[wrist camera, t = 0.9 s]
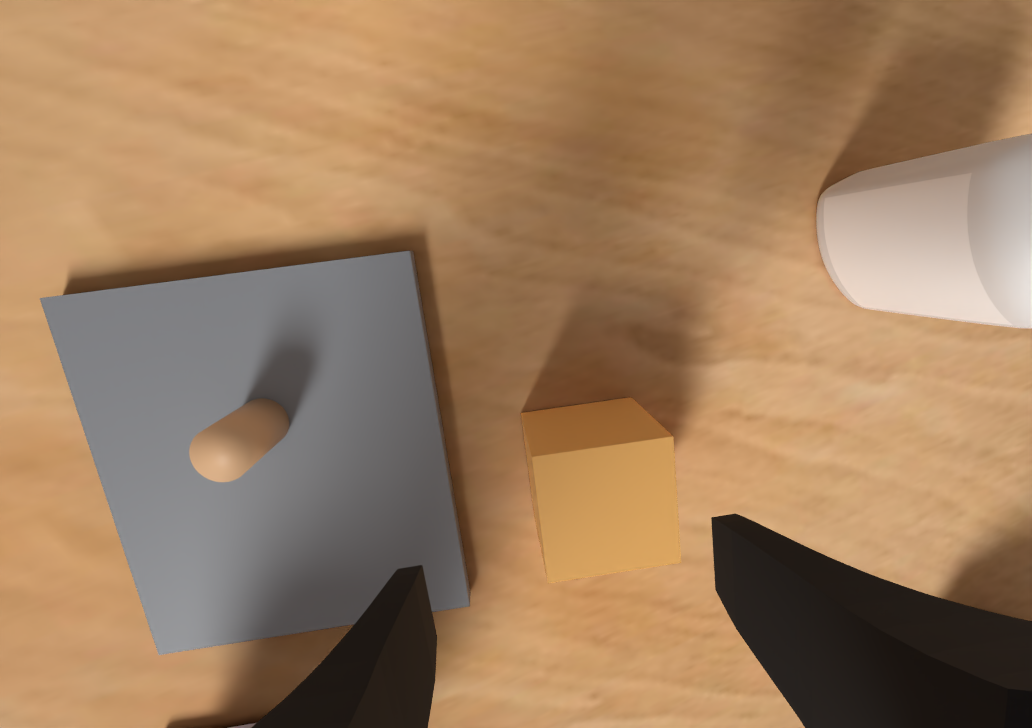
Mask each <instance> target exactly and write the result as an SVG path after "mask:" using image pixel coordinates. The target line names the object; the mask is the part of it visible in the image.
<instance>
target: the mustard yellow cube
mask: <svg viewBox="0 0 1032 728" xmlns="http://www.w3.org/2000/svg"><path fill="white" fill-rule="evenodd" d="M521 419H522V426H523V434H524V442H525V449H526V457H527V465H528V472H529V480H530V488H531V495H532V503H533V510H534V517H535V522H536V527H537V532H538V537H539V542H540V547H541V552H542V557H543V561H544V566H545V571H546V576H547V581H548V583H554V582H561V581H567V580H574V579H580V578H586V577H593V576H599V575H606V574H612V573H619V572H625V571H631V570H638V569H644V568H651V567H657V566H663V565H670V564H676V563H681V553H680V537H679V520H678V504H677V488H676V472H675V455H674V439H673V436H672V435H671V434H670V433H669V432H668V431H667V430H666V429H665V428H664V427H663V426H662V425H661V424H660V423H658V422H657V421H656V420H655V419H654V418H653V417H652V416H651V415H650V414H649V413H648V412H647V411H646V410H645V409H643V408H642V407H641V406H640V405H639V404H638V403H637V402H636V401H635V400H634V399H633V398H632V397H629V398H622V399H615V400H608V401H601V402H594V403H587V404H580V405H573V406H566V407H559V408H552V409H545V410H538V411H531V412H524V413H521Z"/></svg>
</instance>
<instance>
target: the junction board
mask: <svg viewBox="0 0 1032 728" xmlns="http://www.w3.org/2000/svg"><path fill="white" fill-rule="evenodd" d="M40 300H41V303H42V306H43V309H44V312H45V315H46V318H47V321H48V324H49V327H50V330H51V333H52V336H53V339H54V342H55V345H56V348H57V351H58V354H59V357H60V360H61V363H62V366H63V369H64V372H65V375H66V378H67V381H68V384H69V387H70V390H71V393H72V396H73V399H74V402H75V405H76V408H77V411H78V414H79V417H80V420H81V423H82V426H83V429H84V432H85V435H86V438H87V441H88V444H89V447H90V450H91V453H92V456H93V459H94V462H95V465H96V468H97V471H98V474H99V477H100V480H101V483H102V486H103V489H104V492H105V495H106V498H107V501H108V504H109V507H110V510H111V513H112V516H113V519H114V522H115V525H116V528H117V531H118V534H119V537H120V540H121V543H122V546H123V549H124V552H125V555H126V558H127V561H128V564H129V567H130V570H131V573H132V576H133V579H134V582H135V585H136V588H137V591H138V594H139V597H140V600H141V603H142V606H143V609H144V612H145V615H146V618H147V621H148V624H149V627H150V630H151V633H152V636H153V639H154V642H155V645H156V648H157V651H158V654H159V655H162V654H168V653H175V652H181V651H187V650H194V649H200V648H206V647H213V646H219V645H226V644H232V643H238V642H245V641H251V640H257V639H264V638H270V637H277V636H283V635H289V634H296V633H302V632H308V631H315V630H321V629H328V628H334V627H340V626H347V625H353V624H355V623H356V622H357V621H358V619H359V618H360V617H361V616H362V614H363V613H364V612H365V611H366V609H367V608H368V607H369V605H370V604H371V603H372V601H373V600H374V599H375V598H376V596H377V595H378V594H379V592H380V591H381V590H382V588H383V587H384V586H385V584H386V583H387V582H388V580H389V579H390V578H391V577H392V575H393V574H394V573H395V571H396V570H397V569H400V568H406V567H412V566H418V565H422V566H423V571H424V576H425V580H426V585H427V590H428V595H429V600H430V605H431V610H432V612H436V611H442V610H449V609H455V608H461V607H468V606H470V587H469V581H468V575H467V569H466V563H465V557H464V551H463V545H462V539H461V533H460V528H459V522H458V516H457V510H456V504H455V498H454V492H453V486H452V480H451V474H450V468H449V462H448V456H447V450H446V444H445V438H444V432H443V426H442V420H441V414H440V408H439V402H438V396H437V390H436V384H435V378H434V372H433V367H432V361H431V355H430V349H429V343H428V337H427V331H426V325H425V319H424V313H423V307H422V301H421V295H420V289H419V283H418V277H417V271H416V265H415V259H414V253H413V251H403V252H395V253H388V254H380V255H372V256H364V257H357V258H349V259H341V260H333V261H326V262H318V263H310V264H302V265H294V266H287V267H279V268H271V269H263V270H256V271H248V272H240V273H232V274H225V275H217V276H209V277H201V278H194V279H186V280H178V281H170V282H162V283H155V284H147V285H139V286H131V287H124V288H116V289H108V290H100V291H93V292H85V293H77V294H69V295H62V296H54V297H46V298H40Z"/></svg>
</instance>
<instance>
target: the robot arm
mask: <svg viewBox="0 0 1032 728" xmlns="http://www.w3.org/2000/svg"><path fill="white" fill-rule="evenodd" d="M711 519H712V536H713V553H714V570H715V588H716V591H717V593H718V595H719V597H720V599H721V601H722V603H723V605H724V607H725V609H726V611H727V613H728V614H729V616H730V618H731V620H732V622H733V623H734V625H735V627H736V629H737V630H738V632H739V633H740V635H741V636H742V638H743V639H744V641H745V642H746V643H747V645H748V646H749V648H750V649H751V651H752V652H753V653H754V655H755V656H756V658H757V659H758V661H759V662H760V663H761V665H762V666H763V668H764V669H765V671H766V672H767V673H768V675H769V676H770V678H771V679H772V680H773V682H774V683H775V685H776V686H777V688H778V689H779V690H780V692H781V693H782V695H783V696H784V697H785V699H786V700H787V702H788V703H789V705H790V706H791V707H792V709H793V710H794V712H795V713H796V714H797V716H798V717H799V719H800V720H801V722H802V723H803V725H804V726H805V728H1032V621H1027V620H1023V619H1018V618H1013V617H1009V616H1005V615H1001V614H997V613H993V612H989V611H985V610H981V609H977V608H973V607H970V606H966V605H963V604H959V603H955V602H952V601H948V600H945V599H941V598H938V597H935V596H931V595H928V594H925V593H922V592H919V591H916V590H913V589H910V588H907V587H904V586H901V585H898V584H895V583H893V582H890V581H887V580H884V579H881V578H879V577H876V576H873V575H871V574H868V573H865V572H863V571H861V570H858V569H856V568H853V567H851V566H849V565H846V564H844V563H841V562H839V561H837V560H834V559H832V558H830V557H827V556H825V555H823V554H821V553H819V552H816V551H814V550H812V549H810V548H808V547H806V546H803V545H801V544H799V543H797V542H795V541H793V540H791V539H789V538H787V537H785V536H783V535H781V534H779V533H776V532H774V531H772V530H770V529H768V528H766V527H764V526H762V525H760V524H758V523H756V522H754V521H752V520H749V519H747V518H745V517H743V516H740V515H738V514H730V515H724V516H718V517H712V518H711ZM436 648H437V635H436V630H435V625H434V620H433V615H432V610H431V605H430V600H429V595H428V590H427V585H426V580H425V576H424V571H423V566H422V565H418V566H412V567H406V568H400V569H397V570H396V571H395V573H394V574H393V575H392V577H391V578H390V579H389V580H388V582H387V583H386V584H385V586H384V587H383V588H382V590H381V591H380V592H379V594H378V595H377V596H376V598H375V599H374V600H373V601H372V603H371V604H370V605H369V607H368V608H367V609H366V611H365V612H364V613H363V614H362V616H361V617H360V618H359V619H358V621H357V622H356V623H355V624H354V626H353V627H352V628H351V629H350V631H349V632H348V633H347V634H346V635H345V636H344V638H343V639H342V640H341V641H340V642H339V643H338V644H337V646H336V647H335V648H334V649H333V650H332V651H331V652H330V654H329V655H328V656H327V657H326V658H325V659H324V660H323V661H322V662H321V664H320V665H319V666H318V667H317V668H316V669H315V670H314V671H313V672H312V673H311V674H310V675H309V676H308V677H307V678H306V679H305V680H304V681H303V682H302V683H301V684H300V685H299V686H298V687H297V688H296V689H295V690H294V691H292V692H291V693H290V694H289V695H288V696H287V697H286V698H285V699H284V700H283V701H282V702H281V703H279V704H278V705H277V706H276V707H275V708H274V709H272V710H271V711H270V712H269V713H268V714H267V715H265V716H264V717H263V718H262V719H261V720H260V721H258V722H257V723H253V724H247V725H241V726H235V727H229V728H428V722H429V716H430V709H431V703H432V697H433V690H434V683H435V671H436Z"/></svg>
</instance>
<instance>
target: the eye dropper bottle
mask: <svg viewBox="0 0 1032 728" xmlns="http://www.w3.org/2000/svg"><path fill="white" fill-rule="evenodd" d="M816 229H817V239H818V245H819V249H820V253H821V256H822V260H823V262H824V265H825V267H826V269H827V271H828V273H829V275H830V277H831V279H832V280H833V282H834V283H835V285H836V286H837V287H838V289H839V290H840V291H841V292H842V294H843V295H844V296H845V297H846V298H847V299H848V300H849V301H851V302H852V303H853V304H854V305H856V306H859V307H862V308H865V309H871V310H879V311H886V312H893V313H901V314H909V315H916V316H924V317H931V318H939V319H947V320H955V321H963V322H971V323H979V324H987V325H996V326H1005V327H1015V328H1032V134H1027V135H1021V136H1017V137H1012V138H1007V139H1002V140H997V141H992V142H988V143H983V144H979V145H974V146H970V147H965V148H961V149H956V150H952V151H947V152H943V153H938V154H934V155H929V156H925V157H921V158H916V159H912V160H908V161H903V162H899V163H894V164H890V165H886V166H881V167H877V168H873V169H868V170H864V171H860V172H857V173H855V174H853V175H851V176H849V177H847V178H845V179H843V180H841V181H839V182H837V183H836V184H834V185H832V186H830V187H829V188H827V189H826V190H825V191H824V192H823V193H822V194H821V196H820V198H819V200H818V203H817V212H816Z"/></svg>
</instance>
